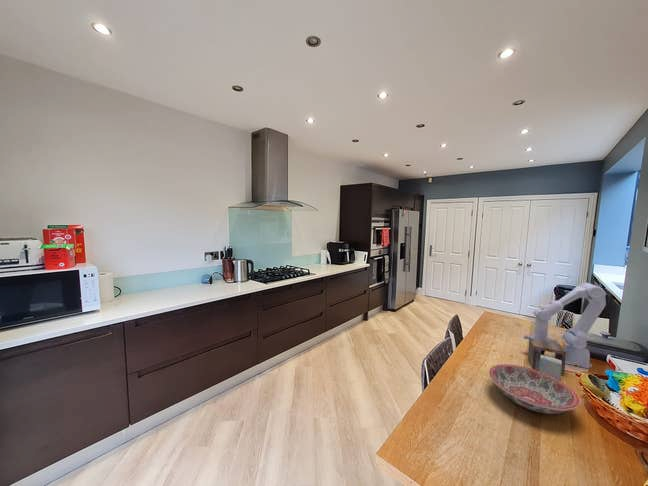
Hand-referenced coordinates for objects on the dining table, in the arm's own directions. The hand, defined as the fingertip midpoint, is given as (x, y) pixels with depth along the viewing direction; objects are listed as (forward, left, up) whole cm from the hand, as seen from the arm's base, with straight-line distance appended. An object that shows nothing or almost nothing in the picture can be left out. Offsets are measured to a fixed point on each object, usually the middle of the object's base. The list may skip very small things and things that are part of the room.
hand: (538, 353), depth 142 cm
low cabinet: (0, +12, -2) cm, 12 cm away
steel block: (+2, +6, -2) cm, 7 cm away
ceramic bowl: (+13, +49, -2) cm, 51 cm away
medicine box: (0, +21, -2) cm, 21 cm away
